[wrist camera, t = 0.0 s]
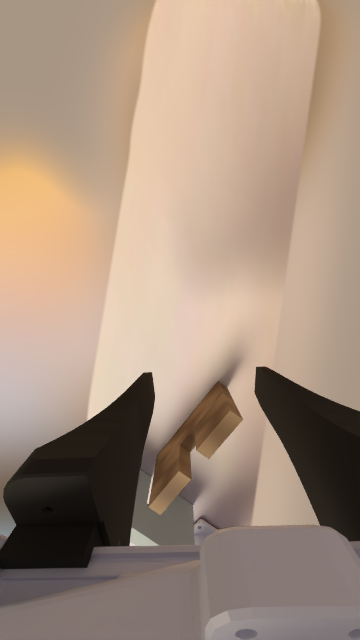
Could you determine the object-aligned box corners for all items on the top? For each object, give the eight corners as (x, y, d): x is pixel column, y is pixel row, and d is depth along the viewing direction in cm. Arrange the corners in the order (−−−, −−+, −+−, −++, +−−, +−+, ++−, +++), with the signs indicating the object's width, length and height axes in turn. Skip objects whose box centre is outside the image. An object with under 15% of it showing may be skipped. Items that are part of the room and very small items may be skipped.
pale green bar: (186, 512, 25) (187, 578, 19) (119, 467, 24) (99, 521, 18) (192, 504, 25) (195, 569, 19) (126, 459, 24) (107, 511, 18)
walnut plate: (166, 462, 24) (160, 515, 18) (157, 456, 24) (148, 507, 18) (227, 388, 23) (242, 419, 17) (217, 381, 23) (230, 410, 17)
